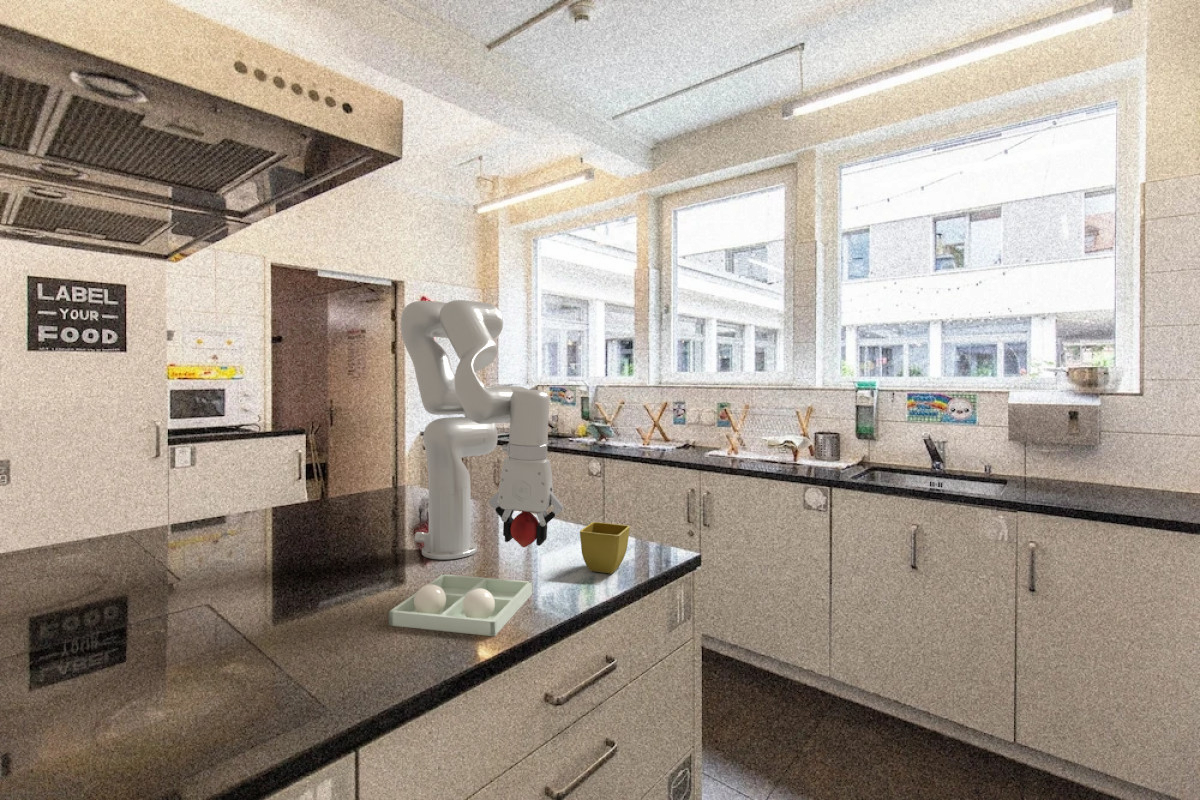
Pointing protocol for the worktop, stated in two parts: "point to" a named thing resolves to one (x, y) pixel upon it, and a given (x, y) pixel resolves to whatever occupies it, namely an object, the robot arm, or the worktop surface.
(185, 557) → the worktop surface
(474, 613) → the egg near right
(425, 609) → the egg near left
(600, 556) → the flower pot
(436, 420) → the robot arm
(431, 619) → the egg tray
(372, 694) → the worktop surface
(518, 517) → the onion
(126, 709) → the worktop surface
